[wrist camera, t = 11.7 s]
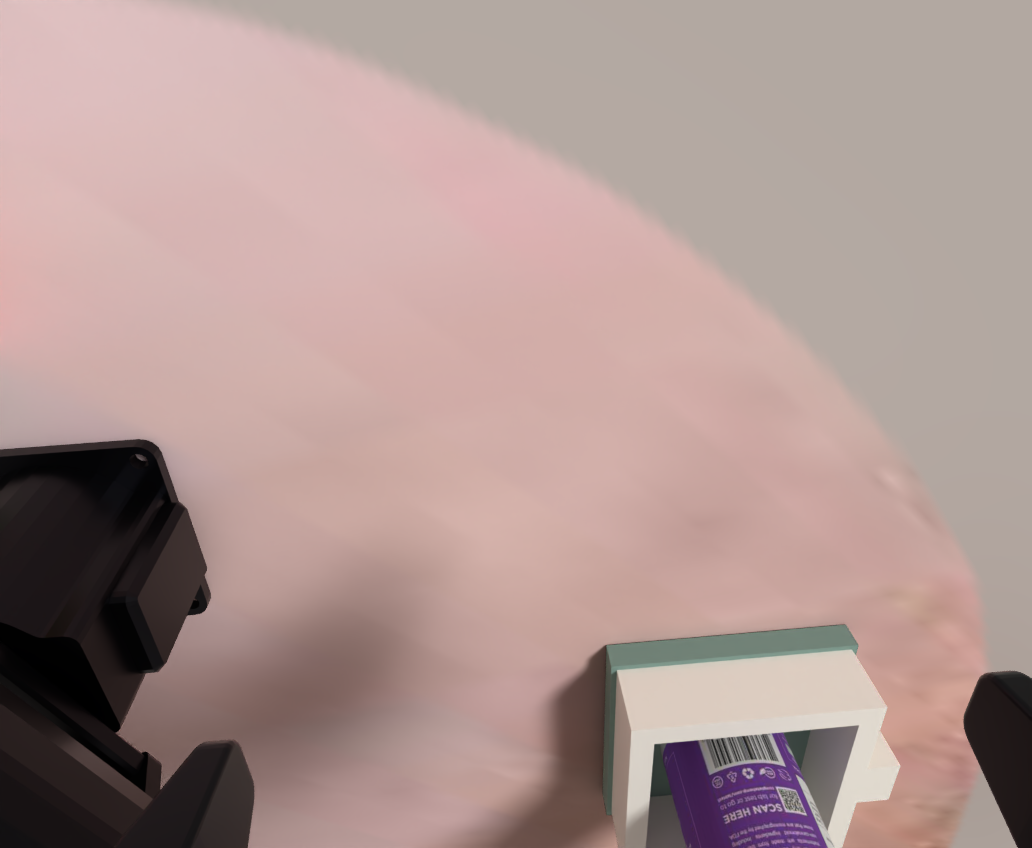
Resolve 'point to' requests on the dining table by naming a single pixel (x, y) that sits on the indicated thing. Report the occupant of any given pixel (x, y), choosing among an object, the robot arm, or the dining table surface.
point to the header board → (742, 720)
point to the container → (742, 794)
